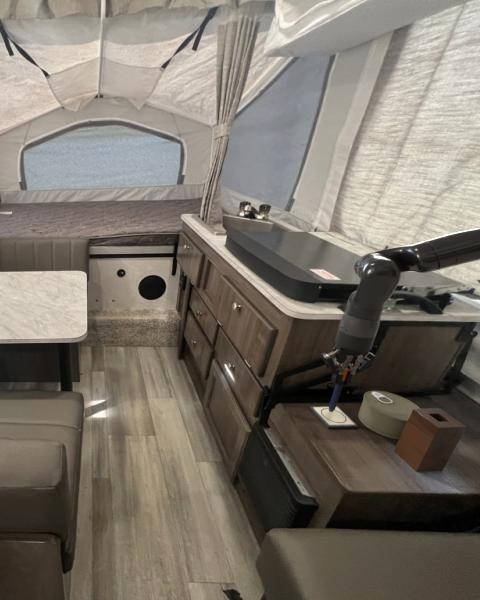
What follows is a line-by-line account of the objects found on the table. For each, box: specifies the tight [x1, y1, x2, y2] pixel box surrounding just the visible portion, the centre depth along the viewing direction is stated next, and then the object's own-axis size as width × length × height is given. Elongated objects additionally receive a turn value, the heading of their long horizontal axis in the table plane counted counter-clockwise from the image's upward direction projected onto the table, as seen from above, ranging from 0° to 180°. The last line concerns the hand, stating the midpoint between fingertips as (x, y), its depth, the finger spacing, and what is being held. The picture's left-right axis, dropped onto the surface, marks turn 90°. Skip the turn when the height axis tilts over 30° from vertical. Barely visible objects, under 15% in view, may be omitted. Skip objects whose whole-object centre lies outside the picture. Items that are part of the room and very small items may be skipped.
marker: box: [328, 369, 348, 412], centre depth 89 cm, size 2×2×15 cm
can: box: [357, 390, 421, 441], centre depth 87 cm, size 12×12×7 cm
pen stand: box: [393, 407, 467, 473], centre depth 75 cm, size 6×6×14 cm
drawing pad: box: [309, 405, 359, 429], centre depth 91 cm, size 8×8×1 cm
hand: (339, 383), depth 88 cm, fingers closed on marker, 1 cm apart
